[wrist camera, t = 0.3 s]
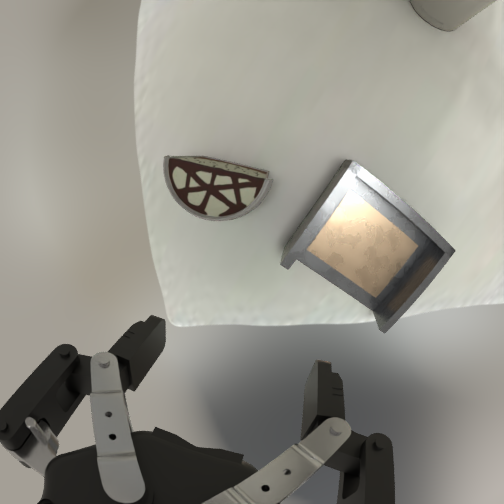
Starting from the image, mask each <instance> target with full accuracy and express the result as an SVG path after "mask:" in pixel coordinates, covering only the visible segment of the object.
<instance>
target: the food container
mask: <svg viewBox="0 0 504 504" xmlns="http://www.w3.org/2000/svg"><path fill="white" fill-rule="evenodd" d="M163 168H164V177H165V181H166V184H167V187H168V189H169V191H170V193H171V195H172V196H173V198H174V199H175V201H176V202H177V203H178V204H179V205H180V206H181V207H182V208H184V209H185V210H186V211H187V212H189V213H191V214H192V215H194V216H196V217H199V218H202V219H205V220H210V221H224V220H232V219H235V218H239V217H241V216H243V215H245V214H247V213H249V212H250V211H252V210H253V209H255V208H256V207H257V206H258V205H259V204H260V203H261V202H262V200H263V199H264V198H265V197H266V195H267V193H268V191H269V190H270V188H271V185H272V182H273V179H270V180H267V177H268V173H269V171H266V170H262V169H258V168H254V167H250V166H246V165H242V164H238V163H233V162H229V161H225V160H220V159H216V158H211V157H206V156H172V157H170V156H165V157H164V163H163Z"/></svg>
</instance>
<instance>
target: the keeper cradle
mask: <svg viewBox="0 0 504 504" xmlns="http://www.w3.org/2000/svg"><path fill="white" fill-rule="evenodd" d="M454 252H455V250H454V249H453V247H452V246H451V245H450V244H449V243H448V242H447V241H446V240H445V239H444V238H443V237H442V236H441V235H440V234H439V233H438V232H437V231H436V230H435V229H434V228H433V227H432V226H431V225H430V224H429V223H428V222H426V221H425V220H424V219H423V218H422V217H421V216H420V215H419V214H418V213H417V212H416V211H415V210H413V209H412V208H411V207H410V206H409V205H408V204H407V203H406V202H404V201H403V200H402V199H401V198H400V197H399V196H398V195H396V194H395V193H394V192H393V191H392V190H390V189H389V188H388V187H387V186H386V185H384V184H383V183H382V182H381V181H379V180H378V179H377V178H376V177H374V176H373V175H372V174H371V173H369V172H368V171H367V170H365V169H364V168H363V167H362V166H360V165H359V164H358V163H356V162H355V161H353V160H345V161H344V163H343V164H342V166H341V167H340V169H339V170H338V172H337V173H336V175H335V176H334V178H333V179H332V180H331V182H330V183H329V185H328V186H327V188H326V189H325V191H324V192H323V193H322V195H321V196H320V198H319V199H318V201H317V202H316V204H315V205H314V206H313V208H312V209H311V211H310V212H309V213H308V215H307V216H306V218H305V219H304V221H303V222H302V223H301V225H300V226H299V228H298V229H297V230H296V232H295V233H294V235H293V236H292V238H291V239H290V240H289V242H288V243H287V245H286V246H285V247H284V250H283V254H282V258H281V263H280V265H282V266H283V267H285V268H286V269H289V268H290V267H291V265H292V264H293V263H294V261H295V260H296V259H297V260H298V261H300V262H301V263H303V264H304V265H306V266H307V267H309V268H310V269H312V270H313V271H315V272H316V273H318V274H319V275H321V276H322V277H324V278H325V279H327V280H328V281H330V282H331V283H333V284H334V285H336V286H337V287H339V288H340V289H342V290H343V291H344V292H346V293H347V294H349V295H350V296H352V297H353V298H355V299H356V300H358V301H359V302H361V303H362V304H363V305H365V306H366V307H368V308H369V309H371V310H372V311H373V313H374V316H375V319H376V322H377V324H378V327H379V330H380V331H382V332H383V333H386V332H387V331H388V330H389V329H390V328H391V327H392V326H393V325H394V324H395V323H396V322H397V320H398V319H399V318H400V317H401V316H402V315H403V314H404V313H405V312H406V311H407V310H408V309H409V307H410V306H411V305H412V304H413V303H414V302H415V301H416V300H417V298H418V297H419V296H420V295H421V294H422V293H423V291H424V290H425V289H426V288H427V287H428V286H429V284H430V283H431V282H432V281H433V279H434V278H435V277H436V276H437V274H438V273H439V272H440V271H441V269H442V268H443V267H444V265H445V264H446V263H447V261H448V260H449V259H450V257H451V256H452V255H453V253H454Z"/></svg>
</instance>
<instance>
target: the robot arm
mask: <svg viewBox="0 0 504 504" xmlns="http://www.w3.org/2000/svg"><path fill="white" fill-rule="evenodd" d="M495 1H497V0H410V2H411V4H412V6H413V8H414V9H415V10H416V12H417V13H418V14H419V15H420V16H421V17H422V18H423V19H424V20H425V21H427V22H428V23H430V24H431V25H433V26H435V27H436V28H439V29H441V30H445V31H453V30H455V29H457V28H458V27H460V26H461V25H462V24H464V23H465V22H467V21H468V20H469V19H471V18H472V17H474V16H475V15H477V14H478V13H479V12H481V11H482V10H484V9H485V8H487V7H488V6H489V5H491V4H492V3H494V2H495ZM165 333H166V331H165V320H164V319H162V318H159V317H156V316H153V315H151V316H150V317H149V318H148V319H147V320H146V321H145V322H143V321H139V322H137V323H135V324H133V325H132V326H131V327H130V328H129V329H128V330H127V331H126V332H125V333H124V334H123V336H122V337H121V338H120V339H119V340H118V341H117V342H116V343H115V344H114V345H113V346H112V348H111V349H110V350H109V351H108V352H100V353H97V354H95V355H94V356H93V357H90V356H85V355H80V354H78V352H77V350H76V348H75V347H74V346H72V345H70V344H62V345H60V346H58V347H57V348H55V349H54V350H53V351H52V352H51V354H50V355H49V356H48V357H47V358H46V359H45V360H44V361H43V362H42V363H41V364H40V365H39V366H38V367H37V368H36V370H35V371H34V372H33V373H32V374H31V375H30V376H29V377H28V378H27V379H26V380H25V382H24V383H23V384H22V385H21V386H20V387H19V388H18V390H17V391H16V392H15V393H14V394H13V395H12V397H11V398H10V399H9V400H8V401H7V403H6V404H5V405H4V406H3V407H2V408H1V410H0V442H1V444H2V445H3V446H4V448H5V449H6V450H7V451H9V453H10V454H11V455H12V456H13V457H14V458H16V459H17V460H19V462H21V463H22V464H23V465H24V466H26V467H28V468H32V469H34V470H35V471H37V472H38V473H39V474H41V475H42V476H43V477H44V478H45V479H44V480H45V481H44V490H43V495H42V498H41V500H40V501H39V502H38V503H37V504H280V503H281V502H282V501H283V500H284V499H286V498H287V497H288V496H290V495H291V494H292V493H293V492H294V491H295V490H297V489H298V488H299V487H300V486H301V485H302V484H303V483H304V482H306V481H307V480H308V479H309V478H310V477H311V476H312V475H313V474H315V473H316V472H317V471H318V470H319V469H320V468H321V467H322V466H323V465H325V466H328V467H331V468H333V469H336V470H339V471H340V480H339V490H338V499H337V504H395V485H394V484H395V482H394V464H393V463H394V462H393V447H392V442H391V440H390V439H389V438H388V437H387V436H386V435H384V434H380V433H374V434H371V435H370V436H369V437H366V436H363V435H361V434H358V433H355V432H354V431H352V430H351V428H350V426H349V424H348V423H347V422H346V421H345V409H344V397H343V383H342V379H341V378H340V376H339V374H338V373H333V372H332V371H331V362H327V361H322V360H316V361H315V363H314V365H313V368H312V370H311V373H310V375H309V377H308V379H307V382H306V385H305V392H304V405H303V418H302V430H301V440H302V441H301V442H300V443H299V444H295V445H293V446H292V447H290V448H289V449H288V450H286V451H285V452H284V453H283V454H281V455H280V456H279V457H277V458H276V459H275V460H273V461H272V462H271V463H269V464H268V465H266V466H265V467H263V468H262V469H261V470H259V471H258V470H257V469H256V468H254V467H253V466H252V465H251V464H249V463H247V462H245V461H243V460H242V459H243V456H244V455H242V454H238V453H234V452H230V451H226V450H223V449H213V448H200V447H196V446H194V445H192V444H190V443H189V442H187V441H185V440H184V439H182V438H180V437H179V436H177V435H175V434H172V433H170V432H168V431H165V430H162V429H159V428H157V427H155V429H154V431H153V432H151V431H136V432H133V429H132V425H131V421H130V417H129V412H128V408H127V403H126V398H125V392H126V390H127V389H130V390H132V391H135V390H136V389H137V387H138V386H139V384H140V383H141V382H142V380H143V379H144V377H145V376H146V374H147V373H148V371H149V370H150V368H151V367H152V365H153V364H154V363H155V361H156V360H157V358H158V357H159V355H160V354H161V352H162V351H163V349H164V347H165V342H166V337H165V335H166V334H165ZM85 395H90V402H91V412H92V421H93V429H94V435H95V442H96V445H92V446H89V447H86V448H82V449H79V450H76V451H72V452H68V453H65V454H61V455H58V456H56V454H57V450H58V447H59V443H58V439H57V436H58V434H59V433H60V431H61V430H62V429H63V427H64V426H65V424H66V423H67V421H68V420H69V418H70V417H71V415H72V414H73V413H74V411H75V410H76V408H77V407H78V405H79V404H80V402H81V401H82V400H83V398H84V397H85Z"/></svg>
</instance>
